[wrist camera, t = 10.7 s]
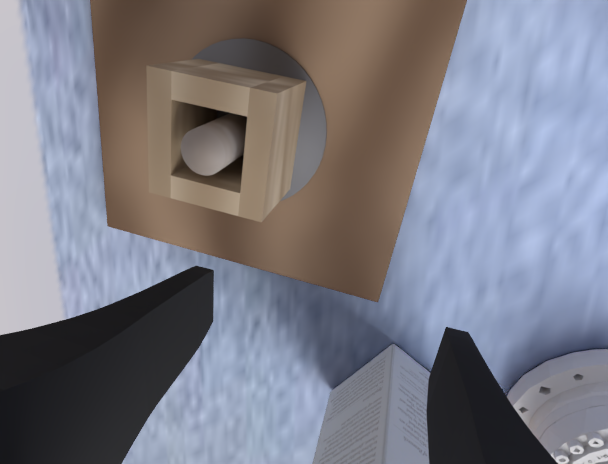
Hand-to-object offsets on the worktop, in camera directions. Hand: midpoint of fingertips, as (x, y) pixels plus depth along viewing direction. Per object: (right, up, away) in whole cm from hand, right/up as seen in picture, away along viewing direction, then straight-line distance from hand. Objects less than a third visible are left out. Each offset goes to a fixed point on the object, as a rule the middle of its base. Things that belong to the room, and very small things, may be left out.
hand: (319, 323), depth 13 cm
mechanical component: (+16, -7, +10) cm, 20 cm away
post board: (-3, +8, +8) cm, 12 cm away
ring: (-3, +8, +7) cm, 11 cm away
